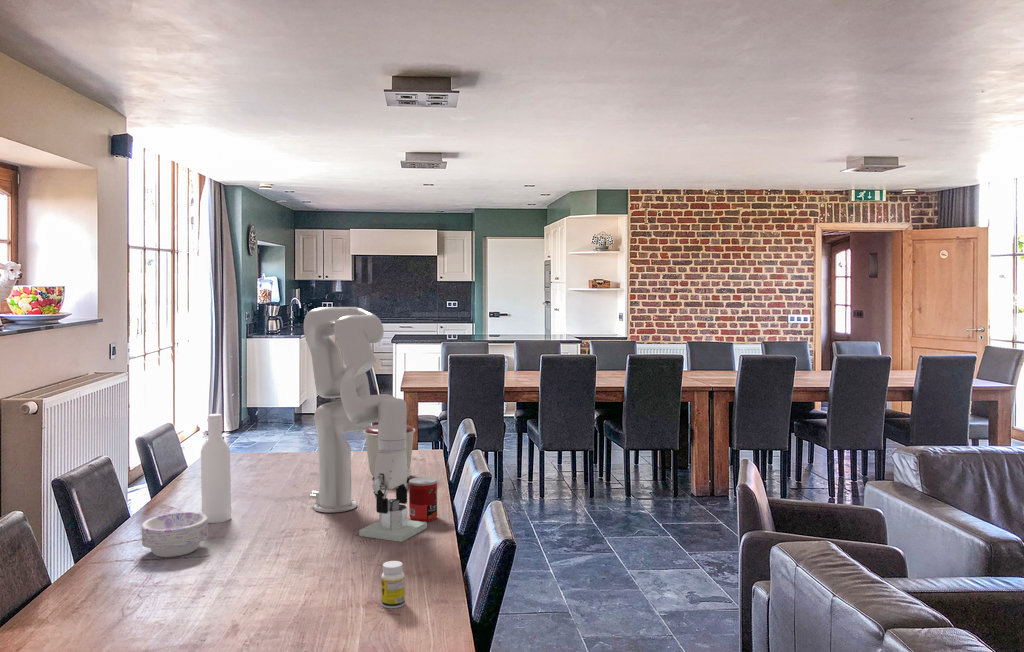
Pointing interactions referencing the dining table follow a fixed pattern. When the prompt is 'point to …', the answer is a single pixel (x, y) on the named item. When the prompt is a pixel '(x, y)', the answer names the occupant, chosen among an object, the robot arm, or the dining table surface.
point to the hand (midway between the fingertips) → (392, 507)
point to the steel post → (393, 504)
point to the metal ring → (394, 519)
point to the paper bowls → (174, 533)
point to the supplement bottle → (393, 585)
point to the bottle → (215, 473)
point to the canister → (372, 445)
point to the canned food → (423, 499)
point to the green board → (393, 531)
